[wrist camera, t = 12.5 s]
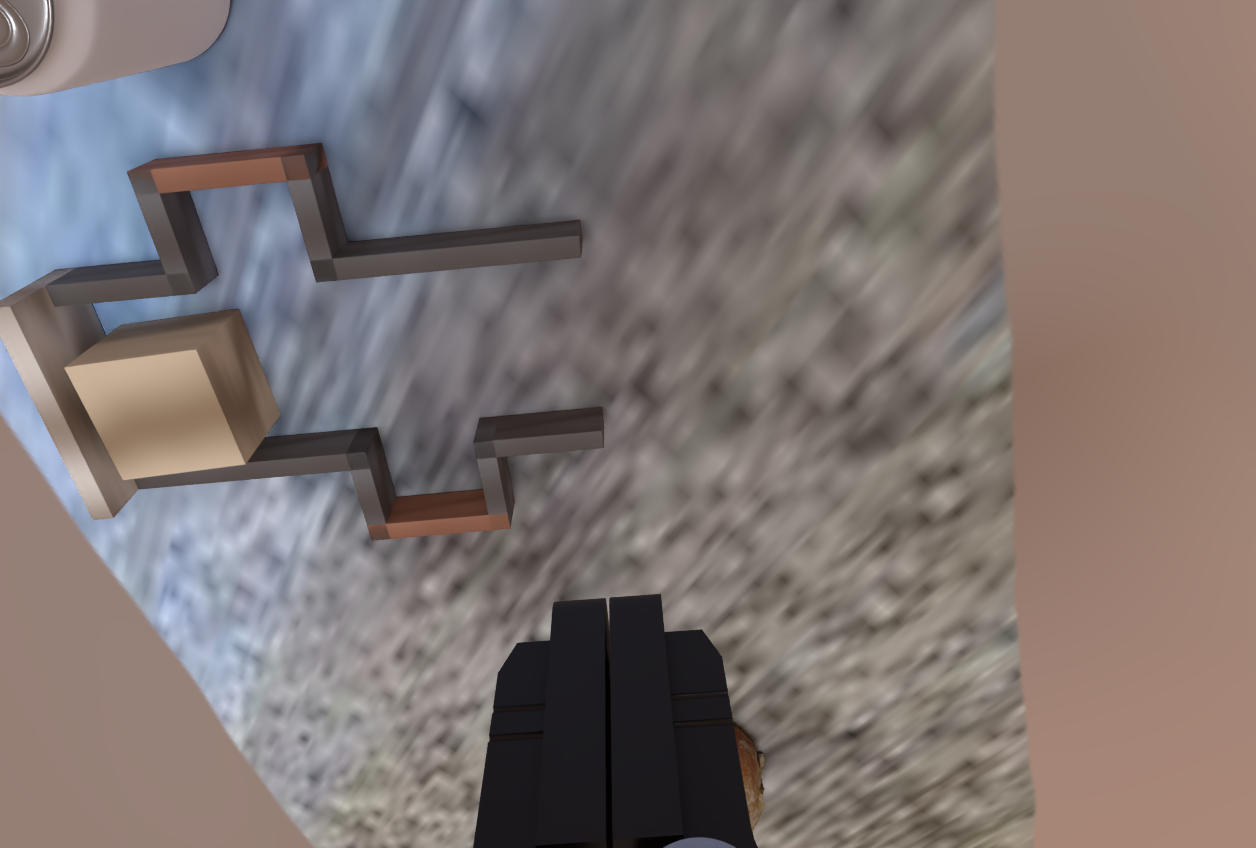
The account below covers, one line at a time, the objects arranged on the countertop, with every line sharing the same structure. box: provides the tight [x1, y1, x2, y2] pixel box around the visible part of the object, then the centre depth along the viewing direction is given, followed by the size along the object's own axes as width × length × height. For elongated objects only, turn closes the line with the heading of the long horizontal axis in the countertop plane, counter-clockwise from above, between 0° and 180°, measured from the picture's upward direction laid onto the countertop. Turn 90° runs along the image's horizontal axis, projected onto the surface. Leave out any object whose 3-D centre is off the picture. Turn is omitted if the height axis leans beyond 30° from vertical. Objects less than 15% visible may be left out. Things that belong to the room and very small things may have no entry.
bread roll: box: [734, 726, 765, 831], centre depth 56 cm, size 10×10×8 cm
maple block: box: [64, 309, 281, 480], centre depth 40 cm, size 6×6×5 cm
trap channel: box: [0, 143, 604, 541], centre depth 39 cm, size 20×25×5 cm
